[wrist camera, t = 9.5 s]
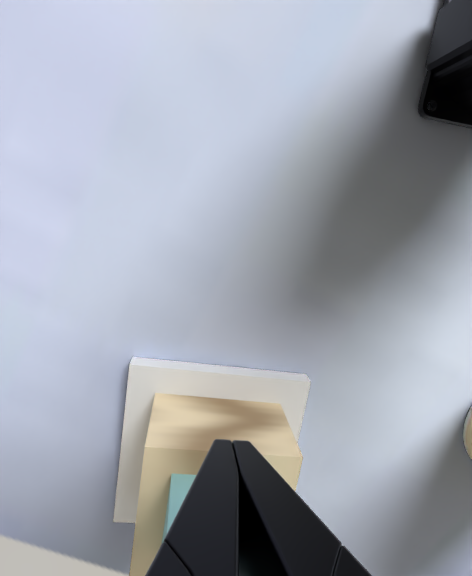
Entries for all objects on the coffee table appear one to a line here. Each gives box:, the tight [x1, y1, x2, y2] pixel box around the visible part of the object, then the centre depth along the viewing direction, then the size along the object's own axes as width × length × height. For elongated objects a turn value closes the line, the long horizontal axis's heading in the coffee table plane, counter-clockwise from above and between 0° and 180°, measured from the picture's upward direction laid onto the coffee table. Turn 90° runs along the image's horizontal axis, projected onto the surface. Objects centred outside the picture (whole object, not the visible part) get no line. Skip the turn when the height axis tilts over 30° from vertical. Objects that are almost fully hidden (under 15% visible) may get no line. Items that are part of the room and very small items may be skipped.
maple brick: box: [129, 393, 303, 576], centre depth 19 cm, size 7×7×4 cm
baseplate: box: [113, 357, 311, 523], centre depth 22 cm, size 10×10×1 cm
